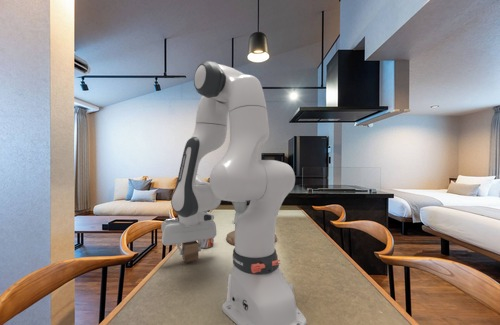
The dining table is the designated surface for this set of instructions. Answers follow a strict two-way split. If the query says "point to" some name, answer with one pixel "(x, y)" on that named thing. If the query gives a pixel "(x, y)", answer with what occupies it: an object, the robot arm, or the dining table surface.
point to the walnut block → (190, 251)
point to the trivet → (231, 238)
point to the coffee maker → (240, 208)
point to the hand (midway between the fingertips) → (190, 252)
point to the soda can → (207, 243)
